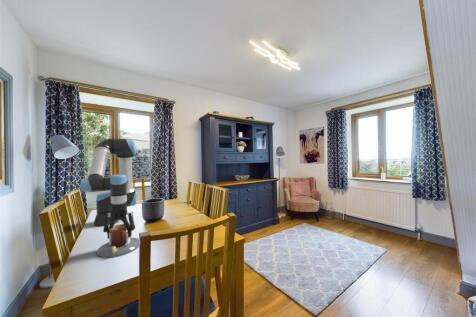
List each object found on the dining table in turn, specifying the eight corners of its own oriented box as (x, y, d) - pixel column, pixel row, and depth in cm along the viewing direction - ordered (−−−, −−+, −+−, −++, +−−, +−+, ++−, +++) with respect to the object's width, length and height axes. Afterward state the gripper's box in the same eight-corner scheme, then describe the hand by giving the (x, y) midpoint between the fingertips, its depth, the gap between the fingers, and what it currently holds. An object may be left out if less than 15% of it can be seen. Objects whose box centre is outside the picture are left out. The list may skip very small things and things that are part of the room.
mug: (106, 246, 101) (106, 228, 101) (124, 240, 108) (123, 222, 108) (116, 252, 94) (115, 233, 94) (134, 245, 101) (133, 227, 101)
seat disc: (106, 242, 109) (106, 234, 109) (143, 237, 115) (143, 229, 114) (89, 260, 90) (89, 250, 90) (135, 254, 95) (135, 245, 95)
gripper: (94, 205, 97) (95, 248, 97) (136, 203, 99) (136, 245, 100) (102, 201, 104) (103, 241, 105) (141, 200, 107) (142, 239, 107)
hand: (119, 243), depth 102 cm, fingers closed on mug, 8 cm apart
